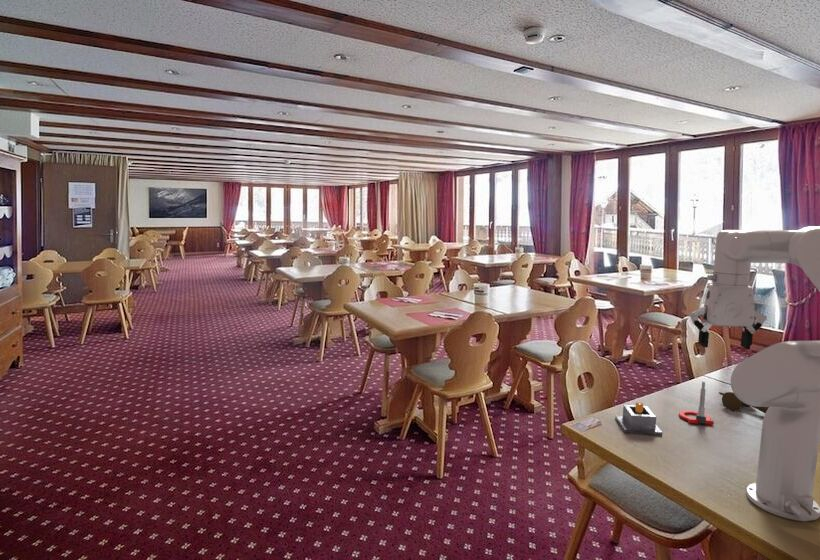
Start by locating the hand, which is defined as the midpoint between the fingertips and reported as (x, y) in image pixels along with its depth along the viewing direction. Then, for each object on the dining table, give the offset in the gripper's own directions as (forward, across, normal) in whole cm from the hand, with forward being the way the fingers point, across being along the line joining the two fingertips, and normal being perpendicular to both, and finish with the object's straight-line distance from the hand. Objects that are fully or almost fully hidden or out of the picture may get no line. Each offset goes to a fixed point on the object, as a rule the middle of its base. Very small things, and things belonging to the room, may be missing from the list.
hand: (724, 347), depth 121 cm
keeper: (+28, -15, +13) cm, 35 cm away
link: (+27, -15, +13) cm, 34 cm away
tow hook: (+29, +4, +22) cm, 36 cm away
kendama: (+29, +24, +31) cm, 48 cm away
